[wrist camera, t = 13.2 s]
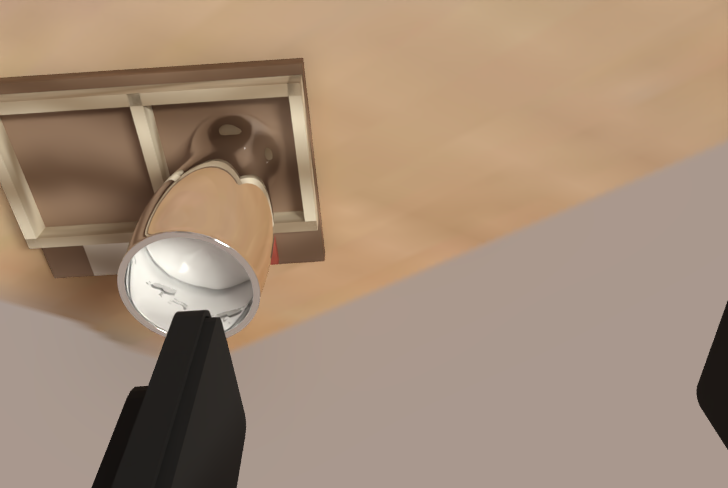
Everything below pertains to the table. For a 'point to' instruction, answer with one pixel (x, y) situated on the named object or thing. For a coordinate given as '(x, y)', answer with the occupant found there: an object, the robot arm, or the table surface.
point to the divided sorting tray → (143, 153)
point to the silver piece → (207, 230)
